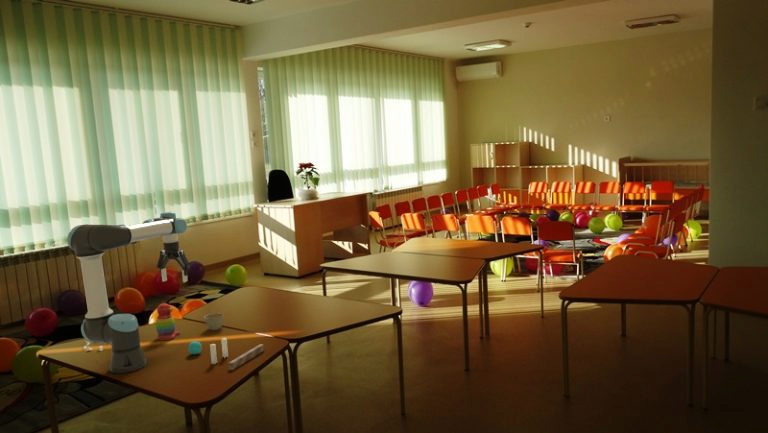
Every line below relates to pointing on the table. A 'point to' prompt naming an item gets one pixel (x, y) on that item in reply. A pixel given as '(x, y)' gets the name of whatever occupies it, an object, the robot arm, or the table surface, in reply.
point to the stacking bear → (165, 323)
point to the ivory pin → (224, 347)
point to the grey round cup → (214, 320)
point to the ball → (194, 347)
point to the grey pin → (213, 353)
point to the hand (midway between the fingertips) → (174, 281)
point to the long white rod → (246, 357)
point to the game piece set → (91, 348)
